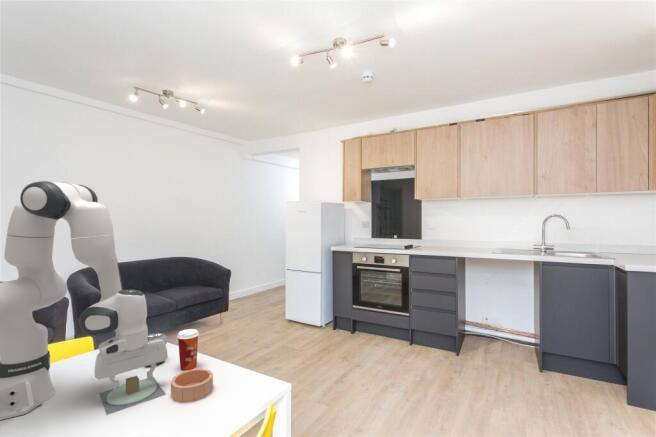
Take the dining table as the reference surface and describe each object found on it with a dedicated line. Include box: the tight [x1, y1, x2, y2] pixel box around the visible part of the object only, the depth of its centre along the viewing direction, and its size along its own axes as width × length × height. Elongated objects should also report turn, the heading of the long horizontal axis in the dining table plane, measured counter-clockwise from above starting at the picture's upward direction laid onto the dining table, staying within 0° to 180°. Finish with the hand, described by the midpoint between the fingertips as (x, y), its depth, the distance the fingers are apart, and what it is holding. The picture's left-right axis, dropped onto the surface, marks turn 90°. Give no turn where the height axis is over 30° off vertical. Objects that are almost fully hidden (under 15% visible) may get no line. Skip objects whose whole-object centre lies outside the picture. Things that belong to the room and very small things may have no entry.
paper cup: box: [176, 328, 200, 372], centre depth 123 cm, size 8×8×14 cm
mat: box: [99, 376, 167, 416], centre depth 105 cm, size 16×16×1 cm
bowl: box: [170, 368, 214, 404], centre depth 106 cm, size 12×12×5 cm
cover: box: [106, 375, 157, 406], centre depth 105 cm, size 14×14×5 cm
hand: (133, 382), depth 105 cm, fingers open, 8 cm apart
